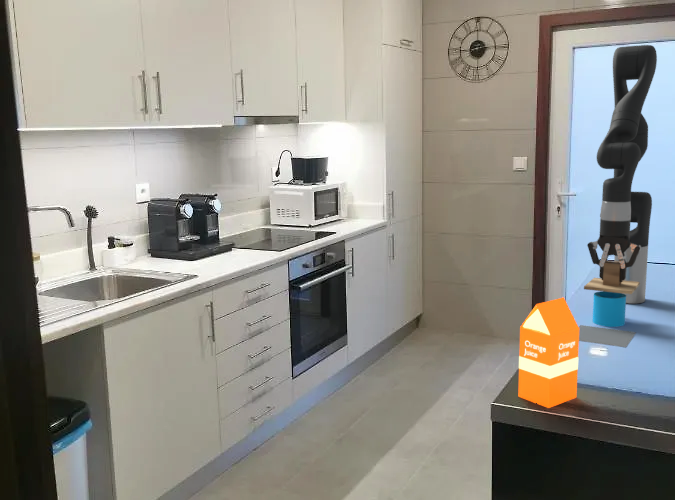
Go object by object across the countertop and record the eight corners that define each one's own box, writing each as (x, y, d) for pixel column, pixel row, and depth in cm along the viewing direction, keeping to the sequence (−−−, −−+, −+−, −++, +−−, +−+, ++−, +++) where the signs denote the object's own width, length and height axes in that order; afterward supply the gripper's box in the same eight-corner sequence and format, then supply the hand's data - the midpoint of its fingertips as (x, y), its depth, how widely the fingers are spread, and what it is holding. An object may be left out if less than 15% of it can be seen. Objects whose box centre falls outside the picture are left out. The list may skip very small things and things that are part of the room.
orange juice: (577, 397, 140) (581, 300, 137) (548, 408, 135) (552, 308, 132) (545, 386, 147) (548, 293, 143) (517, 396, 142) (519, 300, 138)
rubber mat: (580, 326, 188) (580, 325, 188) (636, 333, 181) (636, 332, 181) (566, 340, 177) (567, 338, 176) (625, 348, 169) (626, 347, 169)
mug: (620, 330, 185) (622, 300, 183) (589, 325, 189) (590, 296, 188) (630, 319, 194) (632, 290, 193) (600, 315, 199) (601, 287, 197)
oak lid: (594, 280, 198) (595, 256, 197) (639, 284, 192) (641, 260, 190) (583, 289, 188) (584, 264, 187) (631, 294, 182) (633, 268, 181)
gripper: (646, 217, 186) (642, 280, 189) (591, 214, 193) (588, 275, 196) (641, 221, 180) (637, 286, 183) (584, 218, 187) (581, 280, 190)
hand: (612, 280), depth 190 cm, fingers closed on oak lid, 4 cm apart
